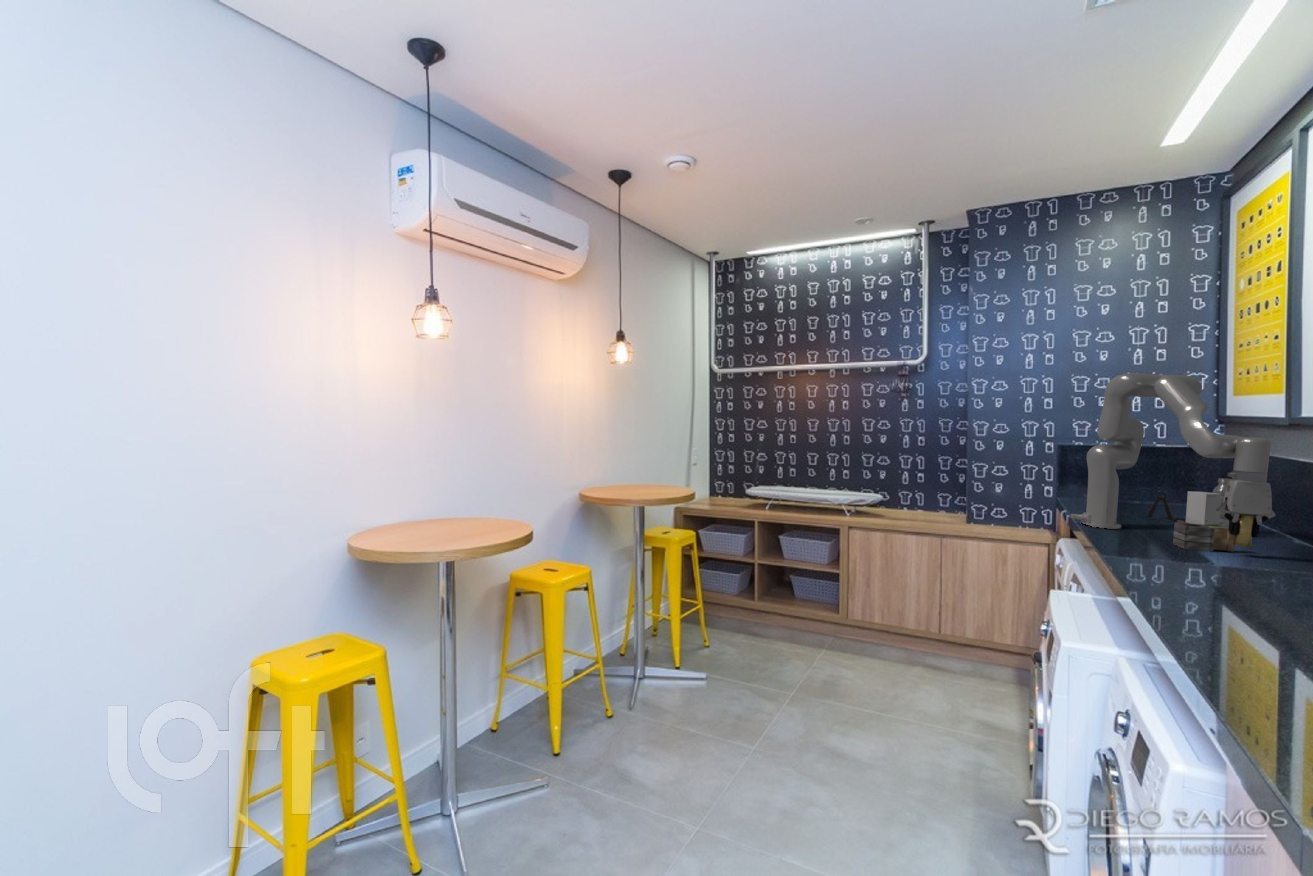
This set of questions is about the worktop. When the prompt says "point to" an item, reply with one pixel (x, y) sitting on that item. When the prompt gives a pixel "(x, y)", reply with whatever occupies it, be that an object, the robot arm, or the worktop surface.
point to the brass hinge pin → (1244, 530)
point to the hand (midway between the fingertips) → (1242, 534)
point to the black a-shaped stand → (1167, 508)
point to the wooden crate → (1211, 538)
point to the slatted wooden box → (1193, 530)
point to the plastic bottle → (1222, 499)
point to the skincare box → (1203, 508)
